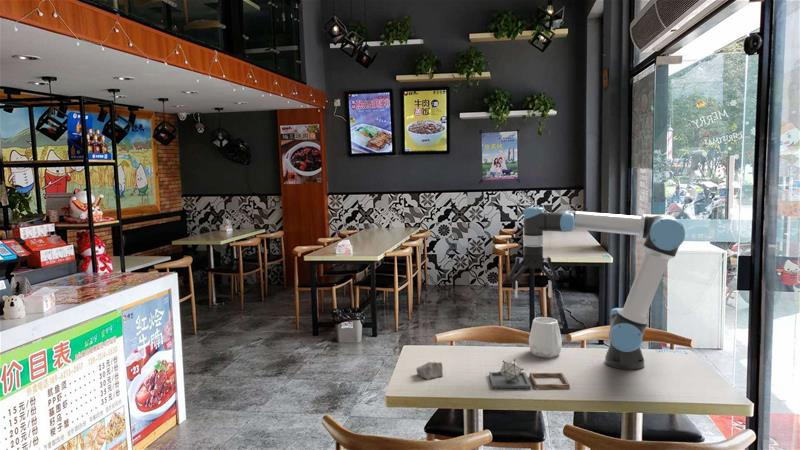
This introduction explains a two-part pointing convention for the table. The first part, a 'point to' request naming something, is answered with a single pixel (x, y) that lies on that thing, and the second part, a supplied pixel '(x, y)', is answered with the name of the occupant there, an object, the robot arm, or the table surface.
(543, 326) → the vase
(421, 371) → the stone
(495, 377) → the tray
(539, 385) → the corral
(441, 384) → the table surface
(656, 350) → the table surface
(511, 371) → the game die
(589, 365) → the table surface
